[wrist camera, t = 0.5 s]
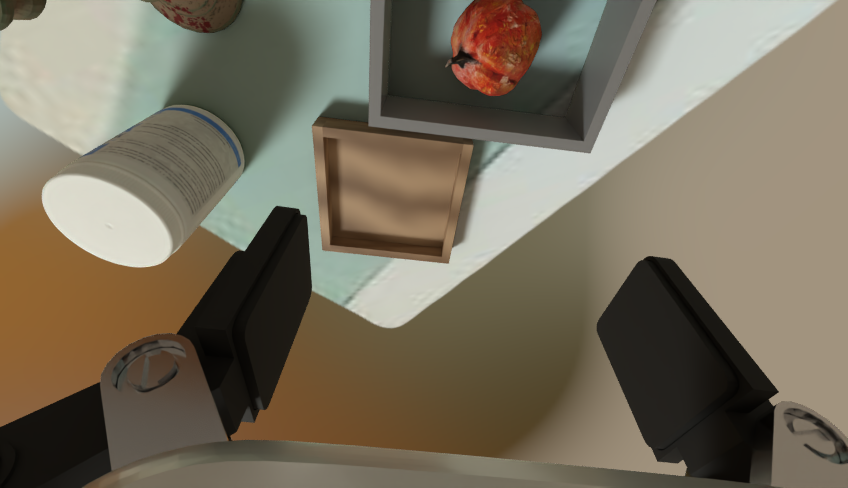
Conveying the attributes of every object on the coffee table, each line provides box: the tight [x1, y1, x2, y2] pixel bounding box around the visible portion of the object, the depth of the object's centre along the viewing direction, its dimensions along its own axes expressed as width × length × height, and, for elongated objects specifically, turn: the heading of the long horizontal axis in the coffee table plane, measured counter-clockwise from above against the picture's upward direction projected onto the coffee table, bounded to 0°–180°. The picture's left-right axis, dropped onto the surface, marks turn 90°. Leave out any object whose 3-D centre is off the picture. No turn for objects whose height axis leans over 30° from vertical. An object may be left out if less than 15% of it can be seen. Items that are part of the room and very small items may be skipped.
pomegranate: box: [445, 0, 542, 96], centre depth 30 cm, size 7×7×10 cm
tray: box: [312, 117, 474, 264], centre depth 41 cm, size 16×16×3 cm
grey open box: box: [369, 0, 657, 153], centre depth 30 cm, size 14×20×6 cm
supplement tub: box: [42, 105, 245, 267], centre depth 34 cm, size 10×10×15 cm
